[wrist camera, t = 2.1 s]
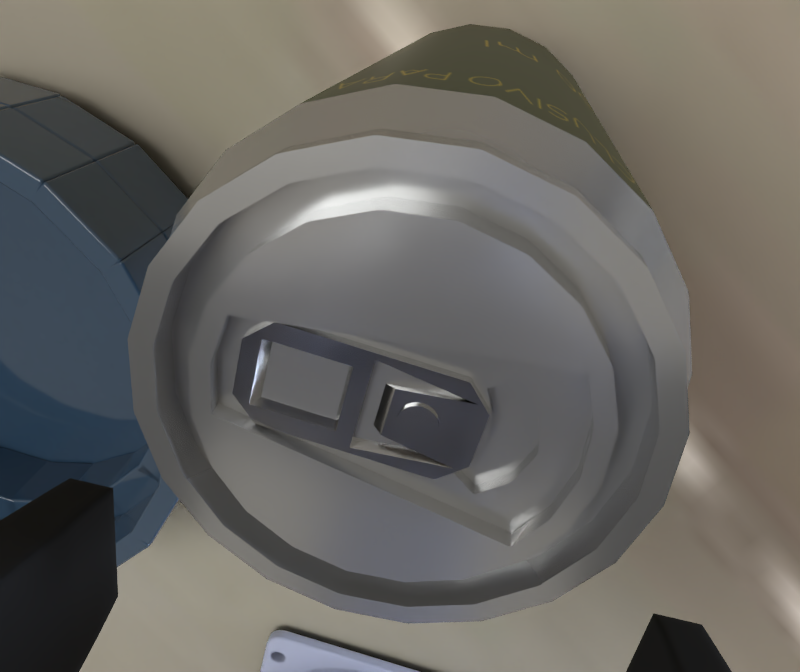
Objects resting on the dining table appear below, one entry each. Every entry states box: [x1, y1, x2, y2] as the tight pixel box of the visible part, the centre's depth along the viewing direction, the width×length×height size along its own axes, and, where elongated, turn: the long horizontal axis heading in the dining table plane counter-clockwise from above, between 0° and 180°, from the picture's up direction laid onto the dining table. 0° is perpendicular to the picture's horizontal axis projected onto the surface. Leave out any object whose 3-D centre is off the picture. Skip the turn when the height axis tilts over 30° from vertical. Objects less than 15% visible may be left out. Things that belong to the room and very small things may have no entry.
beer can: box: [128, 24, 692, 623], centre depth 11 cm, size 5×5×12 cm
